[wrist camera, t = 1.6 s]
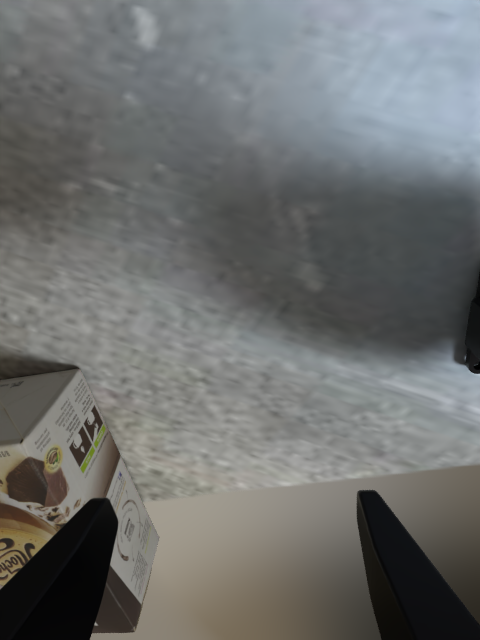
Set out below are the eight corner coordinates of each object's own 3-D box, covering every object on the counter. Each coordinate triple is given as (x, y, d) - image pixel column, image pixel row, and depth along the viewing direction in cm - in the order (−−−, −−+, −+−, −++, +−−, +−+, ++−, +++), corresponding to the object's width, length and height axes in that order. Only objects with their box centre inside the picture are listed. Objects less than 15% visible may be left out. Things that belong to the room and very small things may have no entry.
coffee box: (18, 445, 17) (140, 634, 24) (81, 363, 23) (164, 536, 30) (-151, 468, 18) (10, 640, 25) (-52, 385, 24) (57, 544, 31)
